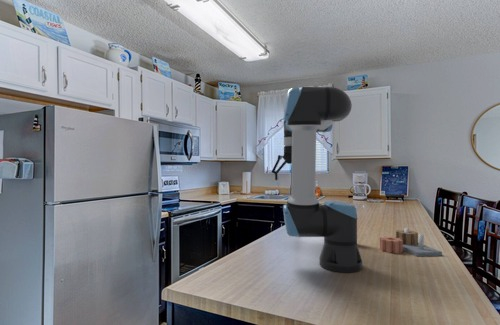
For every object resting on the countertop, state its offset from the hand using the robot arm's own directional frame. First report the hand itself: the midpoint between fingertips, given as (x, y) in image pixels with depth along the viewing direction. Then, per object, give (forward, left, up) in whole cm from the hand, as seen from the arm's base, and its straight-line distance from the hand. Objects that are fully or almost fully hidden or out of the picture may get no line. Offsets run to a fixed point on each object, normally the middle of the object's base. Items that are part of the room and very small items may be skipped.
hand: (291, 186), depth 153 cm
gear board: (-27, -49, -26) cm, 61 cm away
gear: (-28, -38, -26) cm, 53 cm away
